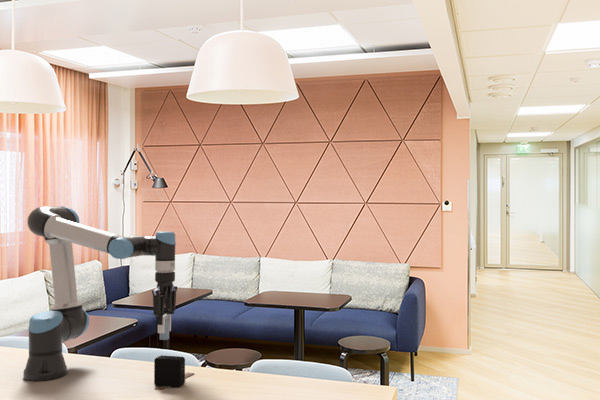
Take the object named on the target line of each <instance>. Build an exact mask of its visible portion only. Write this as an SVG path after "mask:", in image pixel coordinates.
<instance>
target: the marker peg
mask: <svg viewBox="0 0 600 400" xmlns="http://www.w3.org/2000/svg"><path fill="white" fill-rule="evenodd" d="M163 316H165V333H159V340H161V341H167V340H170V331H169V319H168V315H163Z"/></svg>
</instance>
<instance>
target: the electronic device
mask: <svg viewBox="0 0 600 400" xmlns="http://www.w3.org/2000/svg"><path fill="white" fill-rule="evenodd" d="M153 363H154V371H153V373H154V374H153V375H154V377H153V378H154V379H153V383H154V384H153V385H154V386H155V387H165V388H171V389H172V388H175V389H179V388H180V387H182V386H183V385H185V383H186V378H185V373H186V358H185V357H184V356H177V355H174V356H173V355H159V356H156V357H155V358H154V362H153Z"/></svg>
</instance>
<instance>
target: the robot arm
mask: <svg viewBox="0 0 600 400" xmlns="http://www.w3.org/2000/svg"><path fill="white" fill-rule="evenodd" d="M27 226H28V229H29V230H30V232H31V233H33V234H34V235H36V236H39V237H42V238H44V242H45V243H47V244H48V246H49V256H50V257H49V258H50V267H51V276H52V277H51V279H52V285H53V297H54V305H52V307H51V310H47V311H42V312H41V311H40V312H38V313H36V314H34V315H32V316H31V317H30V319H29V324H28V358H27V362H26V365H25V368H24V369H23V374H22V375H23V380H26V381H29V382H31V381H32V382H41V381H42V382H43V381H44V382H45V381H50V380H56V379H59V378H62V377H64V376H66V375H67V374H68V366H67V365H66V360H65V358H64V354H63V343H64V342H65V343H66V342H67V341H70V340H74V339H76V338H78V337H80V336H82V335H83V334H85V333H86V331H87V329H88V328H89V325H90V315H89V313H88V312H86V309H84V308H83V303H82V302H80V301H79V300H78V291H77V281H76V279H77V278H76V269H75V263H74V262H75V261H74V260H75V259H74V251H73V244H75V245H79V246H82V247H85V248H89V249H93V250H96V251H98V252H102V253H106V254H108V255H110V256H111V257H112V258H113V259H116V260H117V259H119V260H125V259H129V258H134V257H141V256H149V257H150V256H152V257H154V256H155V261H154V262H155V264H154V270H155V271H156V272H155V273H154V281H155V282H156V284H157V285H156V288H155V289H152V290H151V293H152V303H153V305H152V308H153V309H152V310H153V316H155V317H156V318H157V321H156V322H157V334H160V333H165V316H163V315H168V319H169V332H172V315H174V314H175V311H176V306H177V305H176V302H177V301H176V299H177V291H178V286H176V285H174V282H175V280H176V272H175V270H176V244H177V243H176V234H175V232H174V231H156V232H155V236H145V235H144V236H143V235H132V236H128V237H127V236H122V235H117V234H116V233H112V232H109V231H105V230H102V229H98V228H95V227H92V226H88V225H85V224H81V223H80V218H79V215H78V213H77V212H76V210H74V209H73V208H71V207H66V206H39V207H36V208H35V209H33V210H32V211H31V212H30V213H29V215H28V217H27Z"/></svg>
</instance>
